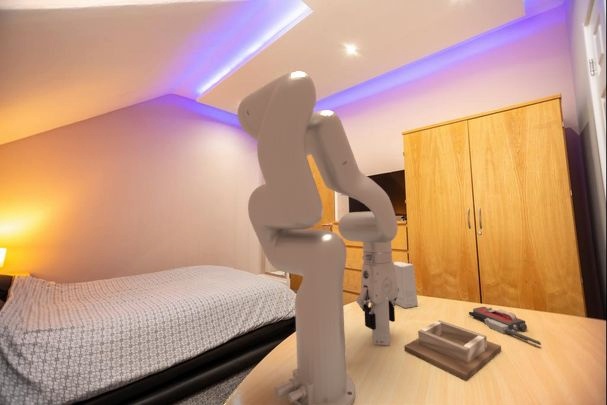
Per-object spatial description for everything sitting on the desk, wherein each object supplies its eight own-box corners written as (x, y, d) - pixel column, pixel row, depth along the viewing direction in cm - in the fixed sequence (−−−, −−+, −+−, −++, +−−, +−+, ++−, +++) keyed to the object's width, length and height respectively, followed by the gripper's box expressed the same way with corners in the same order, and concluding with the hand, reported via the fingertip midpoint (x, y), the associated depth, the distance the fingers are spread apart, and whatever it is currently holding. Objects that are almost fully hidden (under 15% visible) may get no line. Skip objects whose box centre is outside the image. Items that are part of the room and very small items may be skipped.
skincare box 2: (418, 306, 90) (415, 264, 91) (404, 309, 89) (401, 266, 89) (402, 299, 98) (400, 260, 99) (389, 301, 97) (387, 262, 97)
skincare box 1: (390, 346, 65) (388, 298, 65) (373, 344, 66) (371, 298, 66) (387, 334, 71) (385, 291, 71) (371, 333, 72) (370, 290, 72)
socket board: (466, 380, 51) (464, 359, 51) (404, 350, 63) (403, 333, 63) (501, 350, 61) (500, 333, 61) (442, 329, 73) (441, 314, 73)
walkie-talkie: (463, 318, 80) (537, 350, 61) (462, 304, 81) (536, 332, 62) (483, 314, 83) (561, 343, 64) (483, 300, 83) (560, 325, 64)
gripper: (365, 263, 61) (368, 339, 60) (408, 255, 71) (411, 320, 70) (344, 259, 67) (346, 327, 67) (386, 252, 77) (389, 311, 76)
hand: (380, 323), depth 68 cm, fingers closed on skincare box 1, 7 cm apart
